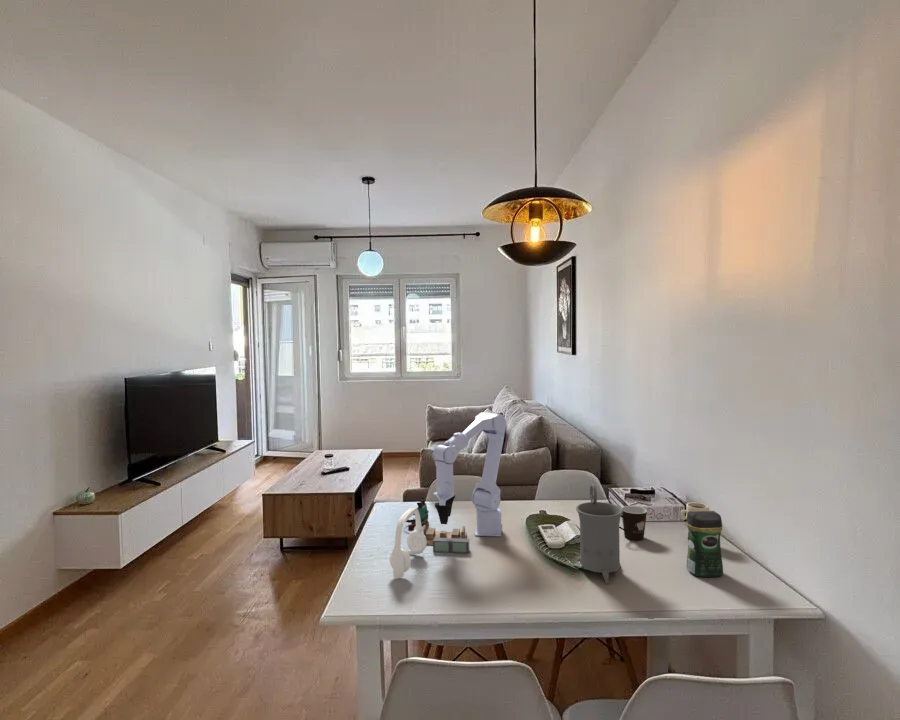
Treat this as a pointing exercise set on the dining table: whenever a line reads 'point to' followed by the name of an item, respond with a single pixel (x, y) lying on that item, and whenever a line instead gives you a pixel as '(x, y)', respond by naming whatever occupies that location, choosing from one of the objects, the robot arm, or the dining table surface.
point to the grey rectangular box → (451, 545)
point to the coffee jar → (704, 543)
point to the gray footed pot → (599, 535)
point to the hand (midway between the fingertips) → (445, 519)
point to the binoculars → (423, 514)
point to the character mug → (693, 509)
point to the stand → (443, 534)
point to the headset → (415, 543)
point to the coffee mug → (634, 522)
